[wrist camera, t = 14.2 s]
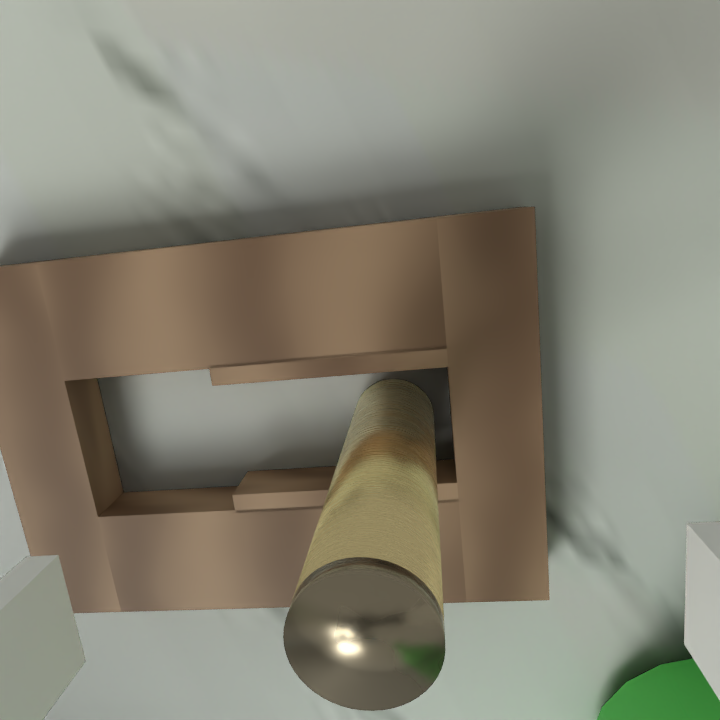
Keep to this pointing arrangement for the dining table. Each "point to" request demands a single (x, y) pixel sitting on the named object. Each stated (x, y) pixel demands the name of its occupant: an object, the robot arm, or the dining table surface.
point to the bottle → (665, 695)
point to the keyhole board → (273, 363)
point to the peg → (375, 562)
